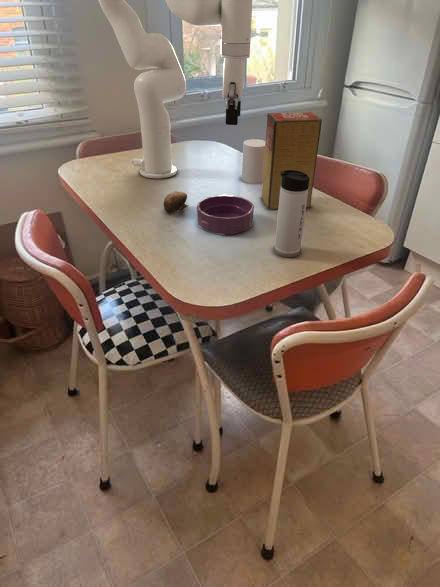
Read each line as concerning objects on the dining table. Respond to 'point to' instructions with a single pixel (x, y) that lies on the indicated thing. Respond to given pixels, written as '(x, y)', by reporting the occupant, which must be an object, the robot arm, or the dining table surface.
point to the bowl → (225, 214)
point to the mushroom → (175, 202)
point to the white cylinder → (253, 161)
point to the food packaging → (289, 151)
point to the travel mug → (291, 212)
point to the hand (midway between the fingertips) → (233, 120)
